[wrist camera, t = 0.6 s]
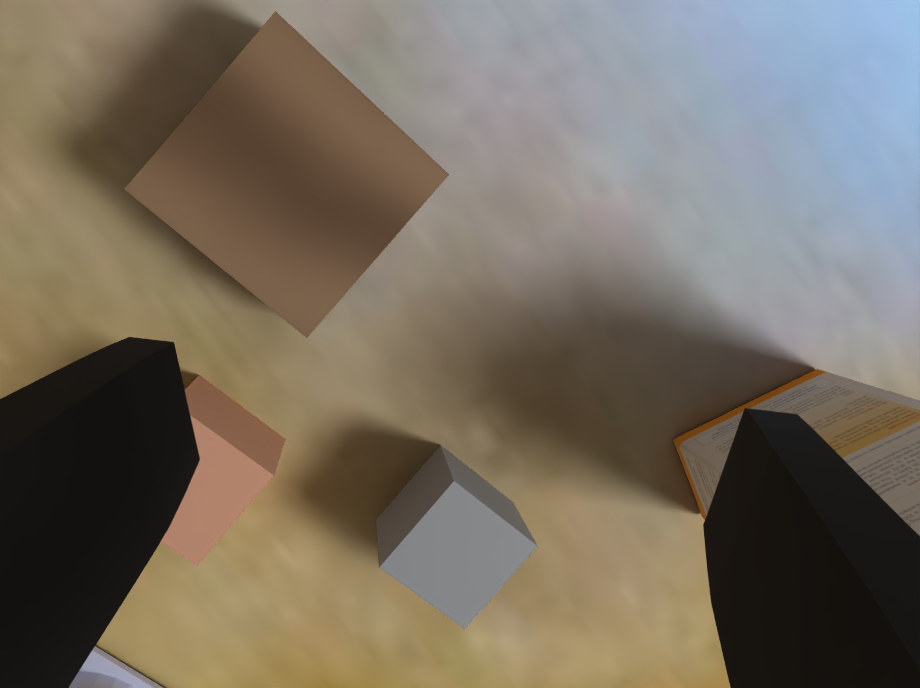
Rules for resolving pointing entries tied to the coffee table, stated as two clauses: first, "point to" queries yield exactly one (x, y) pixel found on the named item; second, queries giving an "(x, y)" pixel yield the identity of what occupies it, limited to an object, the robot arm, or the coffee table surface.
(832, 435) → the supplement box
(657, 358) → the coffee table surface
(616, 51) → the coffee table surface
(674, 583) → the coffee table surface
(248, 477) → the terracotta cube
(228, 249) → the walnut block
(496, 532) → the slate grey cube
